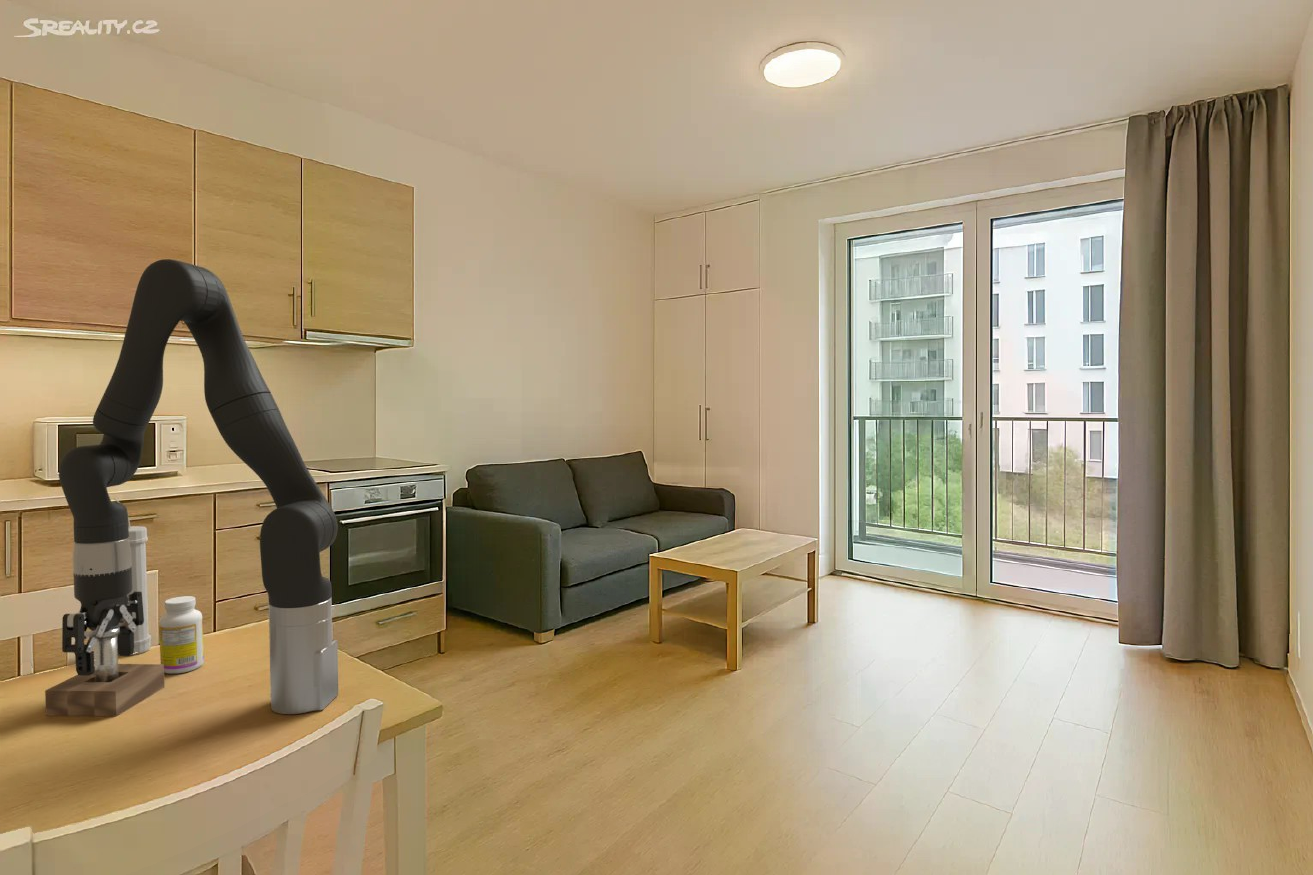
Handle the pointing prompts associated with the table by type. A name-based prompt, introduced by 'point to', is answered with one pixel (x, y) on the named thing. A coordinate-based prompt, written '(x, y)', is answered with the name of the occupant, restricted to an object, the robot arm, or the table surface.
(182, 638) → the supplement bottle
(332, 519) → the robot arm
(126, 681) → the socket block
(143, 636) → the pipe
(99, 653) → the pin
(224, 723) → the table surface
